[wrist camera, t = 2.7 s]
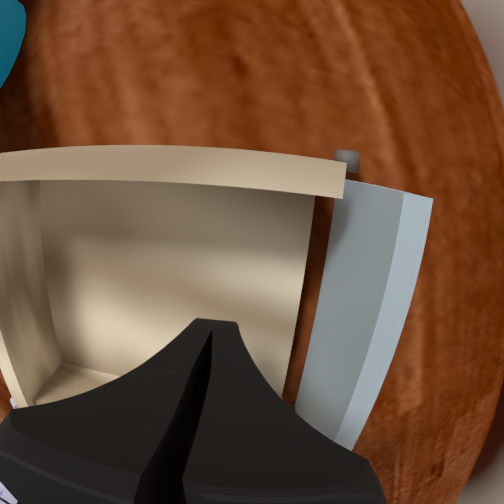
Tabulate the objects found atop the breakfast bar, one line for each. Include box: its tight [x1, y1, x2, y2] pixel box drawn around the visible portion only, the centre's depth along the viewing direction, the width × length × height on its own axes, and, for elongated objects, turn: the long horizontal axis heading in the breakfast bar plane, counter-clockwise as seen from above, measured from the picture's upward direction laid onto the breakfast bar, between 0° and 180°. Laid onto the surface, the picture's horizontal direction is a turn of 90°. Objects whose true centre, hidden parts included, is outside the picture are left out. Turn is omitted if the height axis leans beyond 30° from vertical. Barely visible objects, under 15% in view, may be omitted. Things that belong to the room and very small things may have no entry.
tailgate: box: [295, 179, 433, 451], centre depth 10 cm, size 11×1×5 cm, turn 175°
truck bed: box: [0, 145, 361, 412], centre depth 11 cm, size 13×15×5 cm
